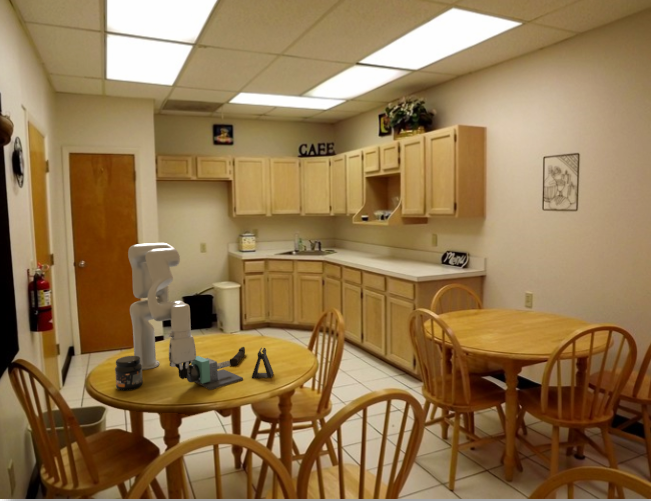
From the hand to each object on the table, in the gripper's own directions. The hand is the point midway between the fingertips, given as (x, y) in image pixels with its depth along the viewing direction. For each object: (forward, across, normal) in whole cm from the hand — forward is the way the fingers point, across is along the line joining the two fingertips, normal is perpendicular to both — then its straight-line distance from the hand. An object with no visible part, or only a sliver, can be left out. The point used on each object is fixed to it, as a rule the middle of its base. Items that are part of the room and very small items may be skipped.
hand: (183, 377), depth 193 cm
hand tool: (+6, +38, +18) cm, 42 cm away
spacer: (+3, +8, 0) cm, 8 cm away
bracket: (+4, +12, 0) cm, 12 cm away
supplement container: (+5, -14, +20) cm, 25 cm away
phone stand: (+5, +33, -10) cm, 35 cm away
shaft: (+3, +12, 0) cm, 12 cm away
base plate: (+5, +16, 0) cm, 16 cm away
